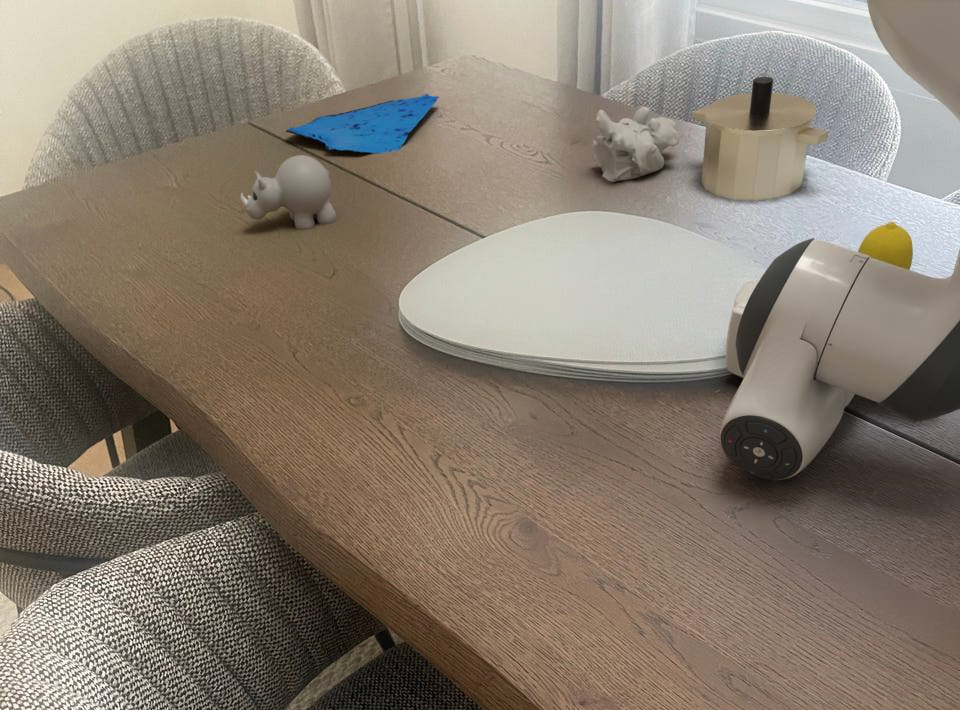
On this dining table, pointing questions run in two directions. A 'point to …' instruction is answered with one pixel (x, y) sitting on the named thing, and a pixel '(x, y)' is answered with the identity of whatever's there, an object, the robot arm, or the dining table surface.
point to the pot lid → (760, 111)
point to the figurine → (632, 145)
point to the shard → (369, 126)
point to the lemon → (889, 245)
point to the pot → (755, 161)
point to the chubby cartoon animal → (294, 193)
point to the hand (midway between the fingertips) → (861, 290)
